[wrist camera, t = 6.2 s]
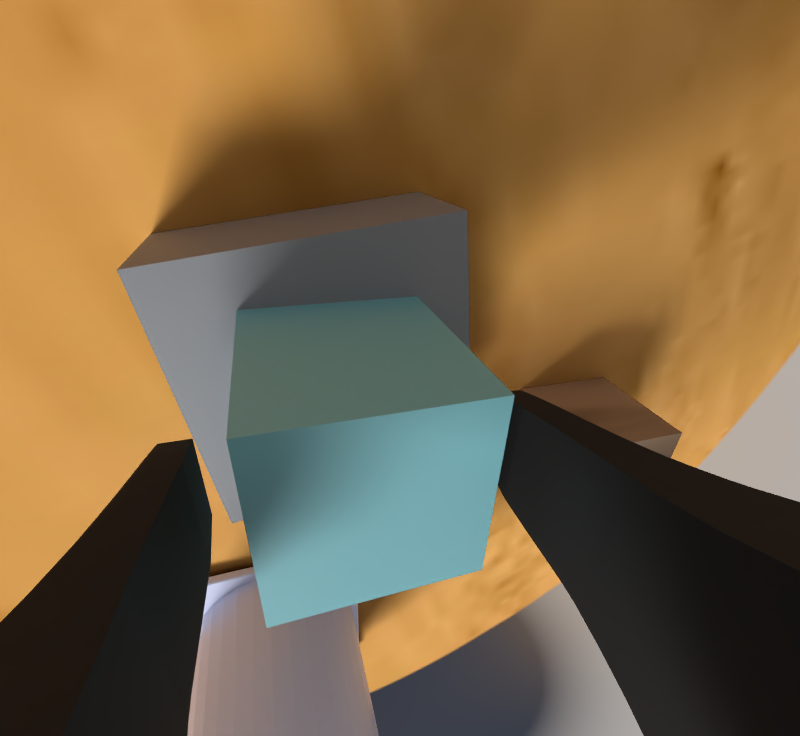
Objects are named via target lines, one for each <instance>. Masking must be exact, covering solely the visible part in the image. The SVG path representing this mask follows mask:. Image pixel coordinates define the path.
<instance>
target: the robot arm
mask: <svg viewBox="0 0 800 736" xmlns="http://www.w3.org/2000/svg"><path fill="white" fill-rule="evenodd" d="M511 392H512V393H513V394H514V395H515V397H514V402H513V407H512V413H511V418H510V423H509V429H508V434H507V439H506V444H505V450H504V455H503V460H502V466H501V471H500V476H499V482H498V486H499V488H500V490H501V492H502V494H503V496H504V498H505V499H506V501H507V503H508V504H509V506H510V507H511V509H512V510H513V512H514V513H515V515H516V516H517V518H518V519H519V521H520V522H521V524H522V525H523V527H524V528H525V529H526V531H527V532H528V534H529V535H530V537H531V538H532V540H533V541H534V543H535V544H536V545H537V547H538V548H539V550H540V551H541V553H542V554H543V556H544V557H545V559H546V560H547V562H548V563H549V564H550V566H551V567H552V569H553V570H554V572H555V573H556V575H557V576H558V578H559V579H560V581H561V582H562V584H563V585H564V587H565V588H566V590H567V592H568V593H569V595H570V596H571V598H572V599H573V601H574V603H575V605H576V606H577V608H578V610H579V612H580V614H581V615H582V617H583V619H584V621H585V623H586V624H587V626H588V628H589V630H590V632H591V633H592V635H593V637H594V639H595V640H596V643H597V644H598V646H599V648H600V650H601V652H602V654H603V656H604V658H605V659H606V661H607V663H608V665H609V667H610V669H611V671H612V673H613V675H614V677H615V679H616V681H617V682H618V684H619V686H620V688H621V690H622V692H623V694H624V696H625V698H626V700H627V702H628V704H629V706H630V708H631V710H632V712H633V715H634V717H635V719H636V720H637V723H638V725H639V727H640V729H641V731H642V733H643V735H644V736H800V502H797V501H794V500H790V499H787V498H784V497H781V496H777V495H774V494H771V493H767V492H764V491H761V490H758V489H754V488H751V487H748V486H745V485H742V484H739V483H736V482H733V481H730V480H727V479H724V478H722V477H719V476H716V475H714V474H711V473H708V472H705V471H703V470H700V469H697V468H694V467H692V466H689V465H686V464H684V463H681V462H679V461H676V460H674V459H671V458H669V457H666V456H664V455H662V454H659V453H657V452H655V451H652V450H650V449H648V448H645V447H643V446H641V445H638V444H636V443H634V442H632V441H629V440H627V439H625V438H623V437H621V436H618V435H616V434H614V433H612V432H610V431H608V430H606V429H604V428H601V427H599V426H597V425H595V424H593V423H591V422H589V421H587V420H585V419H583V418H581V417H579V416H577V415H574V414H572V413H570V412H568V411H566V410H564V409H562V408H560V407H558V406H556V405H554V404H552V403H550V402H547V401H545V400H543V399H541V398H539V397H536V396H534V395H532V394H529V393H527V392H524V391H521V390H518V391H511ZM211 536H212V513H211V509H210V505H209V501H208V497H207V494H206V490H205V486H204V482H203V478H202V474H201V470H200V466H199V463H198V459H197V455H196V451H195V447H194V443H193V439H187V440H181V441H174V442H167V443H161V444H157V445H156V446H155V447H154V448H153V449H152V451H151V452H150V453H149V454H148V455H147V457H146V458H145V459H144V460H143V462H142V463H141V464H140V465H139V467H138V468H137V469H136V470H135V472H134V473H133V474H132V475H131V477H130V478H129V479H128V480H127V482H126V483H125V484H124V485H123V487H122V488H121V489H120V490H119V492H118V493H117V494H116V495H115V497H114V498H113V499H112V500H111V501H110V503H109V504H108V505H107V506H106V507H105V509H104V510H103V511H102V512H101V513H100V514H99V516H98V517H97V518H96V519H95V520H94V522H93V523H92V524H91V525H90V526H89V527H88V529H87V530H86V531H85V532H84V533H83V535H82V536H81V537H80V538H79V539H78V540H77V541H76V543H75V544H74V545H73V546H72V547H71V548H70V549H69V550H68V551H67V553H66V554H65V555H64V556H63V557H62V558H61V559H60V560H59V561H58V562H57V563H56V564H55V566H54V567H53V568H52V569H51V570H50V571H49V572H48V573H47V574H46V575H45V576H44V578H43V579H42V580H41V581H40V582H39V583H38V584H37V585H36V586H35V587H34V588H33V589H32V591H31V592H30V593H29V594H28V595H27V596H26V597H25V598H24V599H23V600H22V601H21V602H20V603H19V604H18V605H17V606H16V607H15V608H14V609H13V610H12V611H11V612H10V613H9V614H8V615H7V616H6V617H5V618H4V619H3V620H2V621H1V622H0V736H378V731H377V726H376V721H375V717H374V712H373V708H372V702H371V698H370V693H369V688H368V684H367V679H366V674H365V669H364V665H363V660H362V655H361V651H360V646H359V626H358V603H357V604H354V605H350V606H346V607H343V608H339V609H335V610H332V611H328V612H324V613H321V614H317V615H313V616H310V617H306V618H302V619H299V620H295V621H291V622H288V623H284V624H280V625H276V626H273V627H269V628H267V627H266V623H265V618H264V613H263V609H262V604H261V599H260V595H259V590H258V585H257V581H256V576H255V571H254V567H250V568H246V569H241V570H237V571H233V572H228V573H224V574H220V575H215V576H211V577H209V572H210V565H211Z"/></svg>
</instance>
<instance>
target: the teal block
mask: <svg viewBox="0 0 800 736" xmlns="http://www.w3.org/2000/svg"><path fill="white" fill-rule="evenodd" d="M514 397H515V395H514V394H513V393H512V392H511V391H510V390H509V389H508V388H507V387H506V386H505V385H504V384H503V383H502V382H501V381H500V380H499V379H498V378H497V377H496V376H495V375H494V374H493V373H492V372H491V371H490V370H489V369H488V368H487V367H486V366H485V364H484V363H483V362H482V361H481V360H480V359H479V358H478V357H477V356H476V355H475V354H474V353H473V352H472V351H471V350H470V349H469V348H468V347H467V346H466V345H465V344H464V343H463V342H462V341H461V340H460V339H459V338H458V337H457V336H456V335H455V334H454V333H453V332H452V331H451V330H450V329H449V328H448V327H447V326H446V325H445V324H444V323H443V322H442V321H441V320H440V319H439V318H438V317H437V316H436V315H435V314H434V313H433V312H432V311H431V310H430V309H429V308H428V307H427V306H426V305H425V304H424V303H423V302H422V301H421V300H420V299H419V298H418V297H417V296H413V297H400V298H386V299H373V300H360V301H347V302H334V303H321V304H308V305H295V306H282V307H269V308H256V309H243V310H237V311H236V324H235V336H234V349H233V361H232V374H231V386H230V399H229V411H228V423H227V436H226V440H227V445H228V450H229V454H230V459H231V464H232V469H233V473H234V478H235V483H236V487H237V492H238V497H239V501H240V506H241V511H242V515H243V520H244V525H245V529H246V534H247V539H248V543H249V548H250V553H251V557H252V562H253V567H254V571H255V576H256V581H257V585H258V590H259V595H260V599H261V604H262V609H263V613H264V618H265V623H266V627H267V628H269V627H273V626H276V625H280V624H284V623H288V622H291V621H295V620H299V619H302V618H306V617H310V616H313V615H317V614H321V613H324V612H328V611H332V610H335V609H339V608H343V607H346V606H350V605H354V604H357V603H361V602H365V601H369V600H372V599H376V598H380V597H383V596H387V595H391V594H394V593H398V592H402V591H405V590H409V589H413V588H416V587H420V586H424V585H427V584H431V583H435V582H439V581H442V580H446V579H450V578H453V577H457V576H461V575H464V574H468V573H472V572H475V571H479V570H482V567H483V561H484V556H485V551H486V545H487V540H488V535H489V529H490V524H491V519H492V514H493V508H494V503H495V498H496V492H497V487H498V482H499V476H500V471H501V466H502V460H503V455H504V450H505V444H506V439H507V434H508V429H509V423H510V418H511V413H512V407H513V402H514Z"/></svg>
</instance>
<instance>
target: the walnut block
mask: <svg viewBox="0 0 800 736" xmlns="http://www.w3.org/2000/svg"><path fill="white" fill-rule="evenodd" d="M521 391H524V392H527V393H529V394H532V395H534V396H536V397H539V398H541V399H543V400H545V401H547V402H550V403H552V404H554V405H556V406H558V407H560V408H562V409H564V410H566V411H568V412H570V413H572V414H574V415H577V416H579V417H581V418H583V419H585V420H587V421H589V422H591V423H593V424H595V425H597V426H599V427H601V428H604V429H606V430H608V431H610V432H612V433H614V434H616V435H618V436H621V437H623V438H625V439H627V440H629V441H632V442H634V443H636V444H638V445H641V446H643V447H645V448H648V449H650V450H652V451H655V452H657V453H659V454H662V455H664V456H666V457H669V458H671V456H672V454H673V452H674V449H675V447H676V445H677V443H678V440H679V438H680V436H681V434H682V432H680V431H679V430H677V429H676V428H674V427H673V426H672V425H670V424H669V423H667V422H666V421H665V420H663V419H662V418H660V417H659V416H658V415H656V414H655V413H653V412H652V411H650V410H649V409H648V408H646V407H645V406H643V405H642V404H641V403H639V402H638V401H636V400H635V399H634V398H632V397H631V396H629V395H628V394H627V393H625V392H624V391H622V390H621V389H619V388H618V387H617V386H615V385H614V384H612V383H611V382H610V381H608V380H607V379H605V378H604V377H602V378H594V379H587V380H580V381H573V382H566V383H559V384H552V385H545V386H538V387H531V388H524V389H521Z"/></svg>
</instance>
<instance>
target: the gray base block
mask: <svg viewBox="0 0 800 736" xmlns="http://www.w3.org/2000/svg"><path fill="white" fill-rule="evenodd" d="M117 271H118V273H119V276H120V278H121V280H122V282H123V284H124V287H125V289H126V291H127V293H128V296H129V298H130V300H131V302H132V304H133V307H134V309H135V311H136V313H137V315H138V318H139V320H140V322H141V324H142V326H143V329H144V331H145V333H146V335H147V337H148V340H149V342H150V344H151V346H152V348H153V351H154V353H155V355H156V357H157V359H158V362H159V364H160V366H161V368H162V370H163V373H164V375H165V377H166V379H167V381H168V384H169V386H170V388H171V390H172V392H173V395H174V397H175V399H176V401H177V403H178V406H179V408H180V410H181V412H182V414H183V417H184V419H185V421H186V423H187V425H188V428H189V430H190V432H191V434H192V436H193V439H194V441H195V443H196V445H197V447H198V450H199V452H200V454H201V456H202V458H203V461H204V463H205V465H206V467H207V469H208V472H209V474H210V476H211V478H212V480H213V483H214V485H215V487H216V489H217V491H218V494H219V496H220V498H221V500H222V502H223V505H224V507H225V509H226V511H227V514H228V516H229V518H230V520H231V522H232V523H235V522H238V521H242V520H243V515H242V511H241V506H240V501H239V497H238V492H237V487H236V483H235V478H234V473H233V469H232V464H231V459H230V454H229V450H228V445H227V440H226V436H227V423H228V411H229V399H230V386H231V374H232V361H233V349H234V336H235V324H236V311H237V310H243V309H256V308H269V307H282V306H295V305H308V304H321V303H334V302H347V301H360V300H373V299H386V298H400V297H413V296H417V297H418V298H419V299H420V300H421V301H422V302H423V303H424V304H425V305H426V306H427V307H428V308H429V309H430V310H431V311H432V312H433V313H434V314H435V315H436V316H437V317H438V318H439V319H440V320H441V321H442V322H443V323H444V324H445V325H446V326H447V327H448V328H449V329H450V330H451V331H452V332H453V333H454V334H455V335H456V336H457V337H458V338H459V339H460V340H461V341H462V342H463V343H464V344H465V345H466V346H467V347H468V348H469V349H470V335H469V267H468V210H466V209H463V208H461V207H458V206H455V205H453V204H450V203H447V202H445V201H442V200H439V199H437V198H434V197H431V196H429V195H426V194H423V193H421V192H414V193H407V194H401V195H394V196H388V197H382V198H375V199H369V200H363V201H356V202H350V203H343V204H337V205H331V206H324V207H318V208H311V209H305V210H299V211H292V212H286V213H280V214H273V215H267V216H260V217H254V218H248V219H241V220H235V221H229V222H222V223H216V224H209V225H203V226H197V227H190V228H184V229H178V230H171V231H165V232H158V233H152V234H150V235H149V236H148V237H147V238H146V240H145V241H144V242H143V243H142V244H141V245H140V246H139V247H138V248H137V249H136V250H135V251H134V252H133V253H132V254H131V255H130V257H129V258H128V259H127V260H126V261H125V262H124V263H123V264H122V265H121V266H120V267H119V268H118V269H117Z"/></svg>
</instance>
